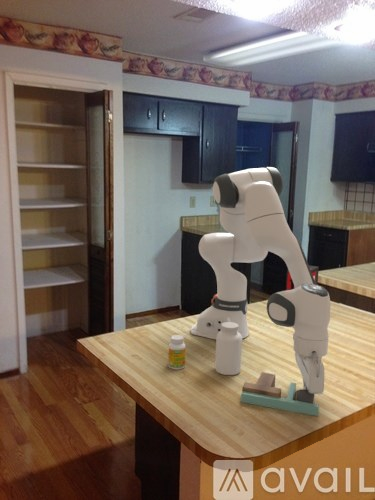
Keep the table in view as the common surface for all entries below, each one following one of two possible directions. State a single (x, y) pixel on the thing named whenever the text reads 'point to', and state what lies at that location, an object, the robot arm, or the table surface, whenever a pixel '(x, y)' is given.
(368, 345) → the table surface
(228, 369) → the pill bottle
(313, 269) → the cleaning product box
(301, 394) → the grey rounded lump
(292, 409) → the rail
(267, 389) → the t block
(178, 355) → the supplement bottle
